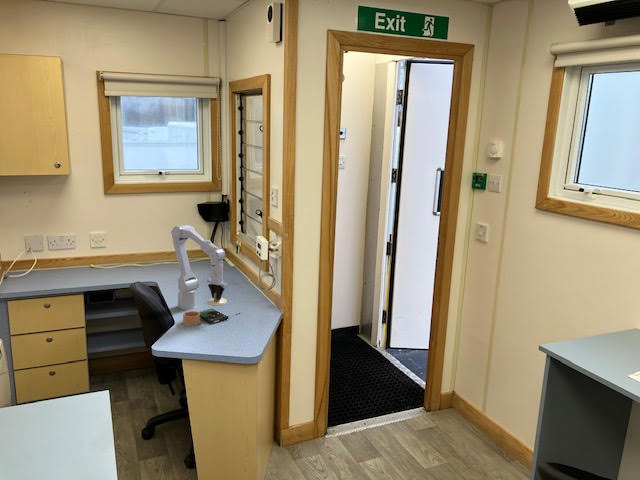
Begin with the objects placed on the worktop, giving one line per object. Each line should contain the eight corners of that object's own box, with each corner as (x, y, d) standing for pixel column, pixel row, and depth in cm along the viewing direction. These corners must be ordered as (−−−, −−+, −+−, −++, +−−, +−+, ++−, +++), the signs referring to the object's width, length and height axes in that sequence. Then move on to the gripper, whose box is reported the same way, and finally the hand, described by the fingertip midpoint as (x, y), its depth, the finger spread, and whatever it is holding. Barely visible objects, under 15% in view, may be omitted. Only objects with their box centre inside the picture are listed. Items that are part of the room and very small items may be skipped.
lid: (202, 302, 259) (202, 293, 258) (218, 297, 267) (218, 289, 266) (214, 307, 253) (214, 298, 252) (230, 302, 260) (230, 293, 259)
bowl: (179, 322, 250) (179, 313, 249) (193, 318, 256) (193, 310, 255) (189, 327, 245) (189, 318, 244) (203, 323, 251) (203, 314, 250)
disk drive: (228, 321, 256) (211, 313, 266) (229, 316, 256) (211, 308, 266) (211, 326, 249) (194, 317, 259) (211, 320, 248) (194, 312, 258)
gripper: (201, 270, 258) (201, 296, 261) (219, 277, 249) (219, 303, 252) (213, 268, 263) (212, 293, 266) (231, 274, 254) (230, 300, 257)
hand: (216, 298), depth 259 cm, fingers closed on lid, 3 cm apart
